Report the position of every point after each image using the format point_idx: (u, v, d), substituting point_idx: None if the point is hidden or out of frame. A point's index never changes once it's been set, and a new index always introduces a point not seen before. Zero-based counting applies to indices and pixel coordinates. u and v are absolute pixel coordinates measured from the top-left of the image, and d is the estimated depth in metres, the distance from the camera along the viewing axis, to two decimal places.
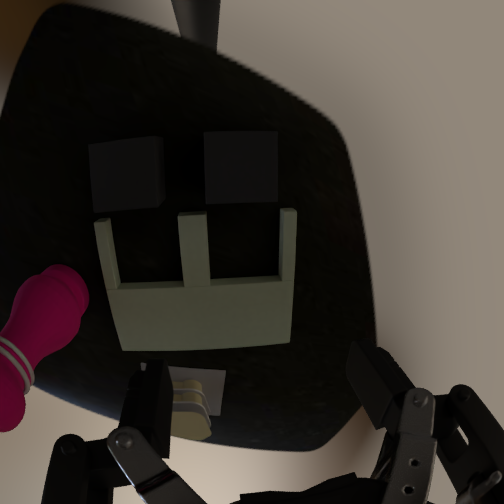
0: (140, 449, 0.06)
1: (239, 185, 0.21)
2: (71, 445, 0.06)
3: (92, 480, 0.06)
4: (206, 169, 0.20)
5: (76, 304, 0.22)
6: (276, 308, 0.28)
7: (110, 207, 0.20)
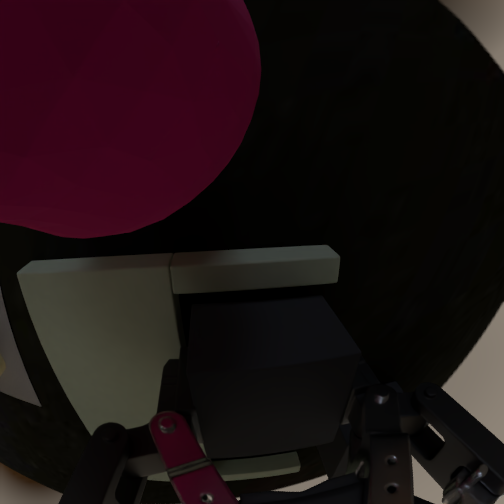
0: (184, 432, 0.07)
1: None
2: (112, 433, 0.06)
3: (127, 469, 0.06)
4: None
5: None
6: None
7: (202, 405, 0.08)
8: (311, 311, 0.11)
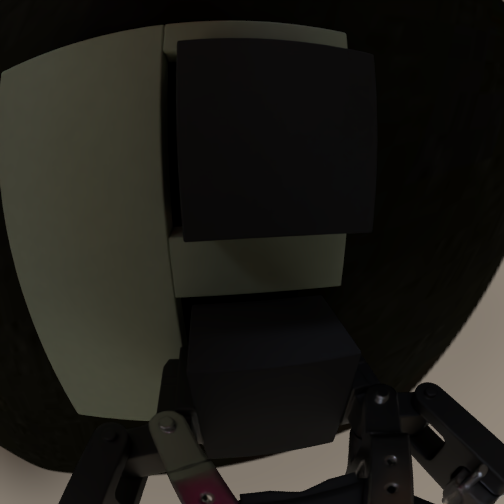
0: (184, 432, 0.07)
1: (236, 420, 0.09)
2: (112, 434, 0.06)
3: (127, 469, 0.06)
4: (276, 369, 0.08)
5: None
6: (139, 403, 0.12)
7: (188, 92, 0.06)
8: None
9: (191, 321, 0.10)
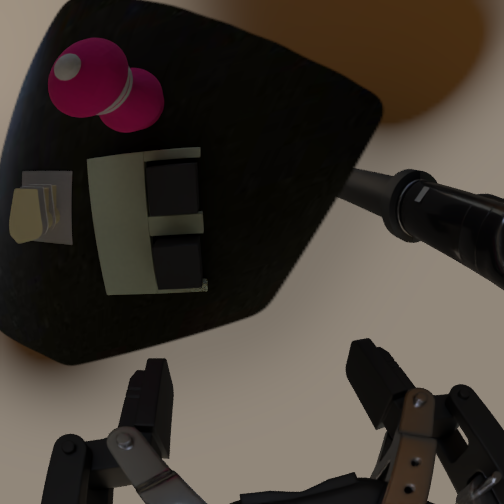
0: (140, 449, 0.06)
1: (165, 267, 0.33)
2: (71, 445, 0.06)
3: (92, 480, 0.06)
4: (174, 247, 0.32)
5: (135, 130, 0.27)
6: (134, 283, 0.35)
7: (149, 181, 0.29)
8: None
9: (156, 240, 0.34)
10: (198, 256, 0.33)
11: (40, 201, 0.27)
